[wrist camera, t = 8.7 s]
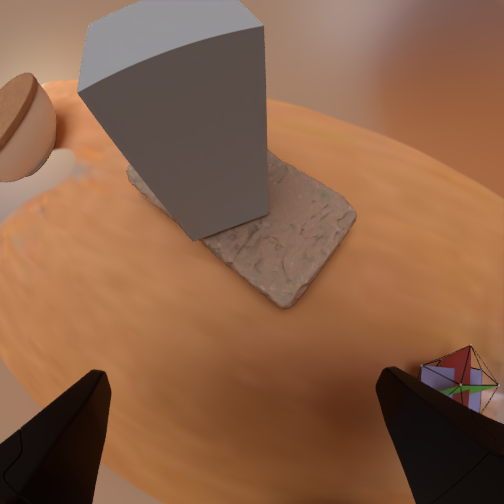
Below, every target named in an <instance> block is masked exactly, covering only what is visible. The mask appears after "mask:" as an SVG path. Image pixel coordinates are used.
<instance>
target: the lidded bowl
mask: <svg viewBox="0 0 504 504" xmlns="http://www.w3.org/2000/svg"><path fill="white" fill-rule="evenodd" d="M55 132H56V113H55V110H54V106H53V104H52V102H51V100H50V98H49V96H48V95H47V93H46V92H45V90H44V89H43V88H42V87H41V85H40V84H39V83H38V82H37V79H36V78H35V77H34V76H33V75H32V74H31V73H23V74H20V75H18V76H16V77H15V78H14V79H12V80H11V81H9V82H8V83H7V84H5V86H3V87H2V88H1V89H0V182H13V181H16V180H19V179H22V178H24V177H27V176H31V175H32V174H34V173H35V172H37V171H38V170H39V169H40V168H41V167H42V166H43V165H44V163H45V162H46V161H47V159H48V158H49V156H50V154H51V152H52V150H53V148H54V145H55V141H56V133H55Z"/></svg>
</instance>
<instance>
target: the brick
mask: <svg viewBox="0 0 504 504" xmlns="http://www.w3.org/2000/svg"><path fill="white" fill-rule="evenodd" d="M267 168H268V214H267V215H264V216H262V217H259V218H256V219H253V220H250V221H248V222H245V223H242V224H239V225H237V226H234V227H231V228H228V229H226V230H223V231H220V232H217V233H215V234H212V235H209V236H207V237H204V238H201V239H199V240H200V241H201V242H202V243H203V244H204V245H205V246H206V247H207V248H208V249H209V250H210V251H211V252H213V253H214V254H215V255H216V256H217V257H218V258H219V259H220V260H221V261H222V262H224V263H225V264H226V265H227V266H228V267H230V268H231V269H232V270H234V271H235V272H236V273H237V274H238V275H240V276H241V277H242V278H243V279H244V280H245V281H247V282H248V283H250V284H251V285H252V286H254V287H255V288H256V289H257V290H259V291H260V292H261V293H262V294H264V295H265V296H266V297H267V298H268V299H269V300H270V301H272V302H273V303H275V304H276V305H277V306H278V307H280V308H283V309H287V308H289V307H291V306H293V304H294V303H295V302H296V301H297V300H298V298H299V297H301V295H302V294H303V293H304V292H305V291H306V289H307V288H308V286H309V285H310V284H311V283H312V282H313V280H314V279H315V277H316V276H317V274H318V273H319V272H320V270H321V269H322V268H323V267H324V265H325V264H326V263H327V261H328V260H329V259H330V257H331V256H332V255H333V253H334V252H335V251H336V249H337V248H338V246H339V245H340V243H341V242H342V240H343V238H344V237H345V236H346V234H347V233H348V232H349V230H350V228H351V227H352V225H353V224H354V223H355V221H356V217H357V214H356V210H355V209H354V208H353V207H352V206H351V205H350V204H349V203H348V202H347V201H346V199H345V198H344V197H343V196H342V195H340V194H339V193H337V192H335V191H334V190H332V189H331V188H329V187H327V186H326V185H324V184H323V183H321V182H319V181H318V180H316V179H314V178H312V177H310V176H308V175H307V174H305V173H303V172H301V171H299V170H297V169H296V168H295V167H293V166H292V165H290V164H288V163H285V162H282V161H281V160H280V159H279V158H277V157H276V155H274V154H273V153H272V152H270V151H269V150H268V149H267ZM126 172H127V175H128V180H129V181H130V182H131V183H132V185H134V186H135V187H136V188H137V190H139V191H140V192H141V193H142V194H143V195H145V196H146V197H147V198H148V199H149V200H150V201H151V202H152V203H153V204H155V205H156V206H157V207H158V208H159V209H161V210H162V211H164V212H165V213H166V214H168V215H169V216H170V217H171V218H172V219H173V220H174V221H175V219H174V218H173V217H172V216H171V214H170V213H169V212H168V211H167V209H166V208H165V207H164V206H163V205H162V203H161V202H160V201H159V200H158V198H157V197H156V196H155V195H154V193H153V192H152V191H151V190H150V188H149V187H148V186H147V185H146V183H145V182H144V181H143V179H142V178H141V177H140V176H139V174H138V173H137V172H136V171H135V169H134V168H133V167H132V165H131V164H130V165H129V167H128V169H127V171H126Z"/></svg>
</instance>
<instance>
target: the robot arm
mask: <svg viewBox="0 0 504 504" xmlns="http://www.w3.org/2000/svg"><path fill="white" fill-rule="evenodd" d="M376 393H377V396H378V400H379V403H380V406H381V410H382V413H383V417H384V420H385V423H386V426H387V429H388V431H389V434H390V436H391V439H392V441H393V444H394V446H395V449H396V451H397V454H398V456H399V459H400V462H401V464H402V467H403V469H404V472H405V475H406V477H407V480H408V483H409V486H410V488H411V491H412V494H413V497H414V500H415V503H416V504H504V424H502V423H500V422H497V421H495V420H493V419H490V418H488V417H486V416H484V415H482V414H480V413H478V412H476V411H474V410H472V409H469V407H467V406H465V405H463V404H461V403H459V402H458V401H456V400H454V399H452V398H450V397H449V396H447V395H445V394H443V393H441V392H439V391H438V390H436V389H434V388H432V387H430V386H429V385H427V384H425V383H423V382H422V381H420V380H418V379H416V378H414V377H413V376H411V375H409V374H407V373H406V372H404V371H402V370H400V369H399V368H397V367H395V366H392V367H386V368H384V369H383V370H382V372H381V375H380V377H379V379H378V381H377V383H376ZM110 401H111V387H110V384H109V381H108V378H107V374H106V372H105V371H102V370H95V369H93V370H91V371H90V372H89V373H87V374H86V375H85V376H84V377H82V378H81V379H80V380H79V381H77V382H76V383H75V384H74V385H72V386H71V387H70V388H69V389H67V390H66V391H65V392H64V393H63V394H61V395H60V396H59V397H58V398H56V399H55V400H54V401H53V402H51V403H50V404H49V405H48V406H47V407H45V408H44V409H43V410H42V411H41V412H39V413H38V414H37V415H36V416H34V417H33V418H32V419H31V420H29V421H28V422H27V423H26V424H25V425H23V426H22V427H21V429H19V430H17V431H16V432H15V433H14V434H12V435H11V436H10V437H8V438H7V439H6V440H5V441H3V442H2V443H1V444H0V504H92V502H93V496H94V490H95V485H96V480H97V474H98V469H99V465H100V460H101V456H102V451H103V447H104V443H105V438H106V432H107V424H108V416H109V408H110Z"/></svg>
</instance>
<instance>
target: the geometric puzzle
mask: <svg viewBox="0 0 504 504" xmlns="http://www.w3.org/2000/svg"><path fill="white" fill-rule="evenodd" d="M471 345H472V344H470V345H469V346H467V347H465V348H462V349H460V351H459V350H458V352H457V351H456V353H454V352H453V353H454V354H452V353H451V354H452V355H450V354H449V355H450V356H448V357H445V356H444V357H445V358H443V357H441V358H443V359H440V358H439V359H440V360H438V359H436V360H438V361H441V367H437V366H438V364H439V363H440V362H439V363H438V364H437V366H436V367H434V366H424V365H426V364H430V362H429V363H426V364H424V365H421V369H420V370H421V379H420V381H422V382H423V383H425V384H427V385H429V386H430V387H432V388H434V389H436V390H438V391H439V392H441V393H443V394H445V395H447V396H449V397H450V398H452V399H454V400H456V401H458V402H459V403H461V404H463V405H465V406H467V407H469V409H472V410H474V411H476V412H478V413H480V404H481V391H483V390H486V389H489V388H492V387H495V386H500V384H498V383H496V382H495V381H496V380H495V381H494V380H493V379H492V378H491V377H489V376H488V375H487V374H486V373H485V372H484V371H483V370H482V369H481V370H480V369H476V368H472V367H471V348H472V350H473V347H472V346H471ZM474 351H475V350H473V352H474ZM475 352H476V351H475ZM474 354H475V353H474ZM477 355H478V354H477ZM446 356H447V355H446ZM475 356H476V355H475ZM478 356H479V355H478ZM476 358H477V357H476ZM479 358H480V357H479ZM480 359H481V358H480ZM434 361H435V360H434ZM477 361H478V359H477ZM435 362H437V361H435ZM482 362H483V361H482ZM431 363H433V361H431ZM478 363H479V362H478ZM479 365H480V364H479ZM484 365H485V364H484ZM485 366H486V365H485ZM471 368H472V369H476V370H471ZM480 368H481V366H480ZM487 369H488V368H487ZM482 371H483V372H484V373H485V374H486V375H487V376H488V377H489V378H491V379H492V380H493V381H494V382H495V383H496V384H497V385H482ZM489 372H490V371H489ZM419 374H420V373H419ZM491 375H492V374H491ZM418 377H419V376H418ZM493 378H494V377H493ZM497 388H498V387H497ZM497 388H496V389H497ZM495 391H496V390H495ZM494 393H495V392H494ZM494 393H493V395H494ZM493 395H492V396H493ZM490 400H491V398H490ZM488 402H490V401H488ZM486 405H488V404H486ZM486 407H487V406H486ZM484 408H485V407H484ZM484 410H485V409H484ZM482 411H483V410H482ZM482 413H483V412H482ZM480 414H481V413H480Z"/></svg>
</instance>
